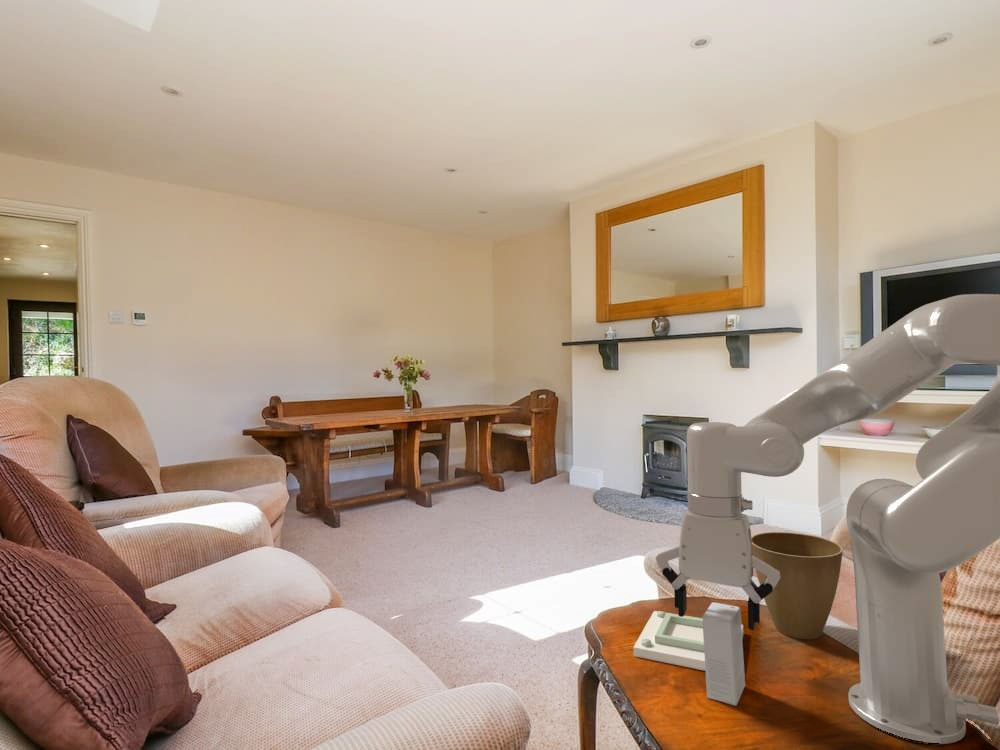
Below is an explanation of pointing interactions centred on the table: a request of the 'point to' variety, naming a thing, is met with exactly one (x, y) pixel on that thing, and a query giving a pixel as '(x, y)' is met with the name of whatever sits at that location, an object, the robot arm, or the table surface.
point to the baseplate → (673, 640)
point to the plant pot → (799, 580)
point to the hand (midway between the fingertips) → (716, 619)
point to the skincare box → (723, 653)
